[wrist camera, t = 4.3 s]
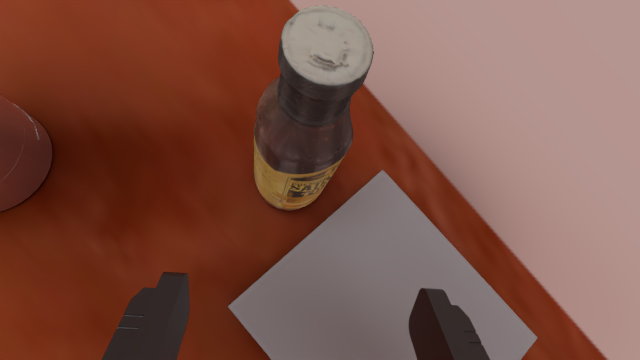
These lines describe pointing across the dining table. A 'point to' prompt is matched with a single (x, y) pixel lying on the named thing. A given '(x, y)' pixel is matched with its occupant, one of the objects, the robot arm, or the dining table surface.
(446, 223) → the dining table surface
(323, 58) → the sauce bottle
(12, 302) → the dining table surface
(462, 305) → the slate mat
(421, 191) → the dining table surface
